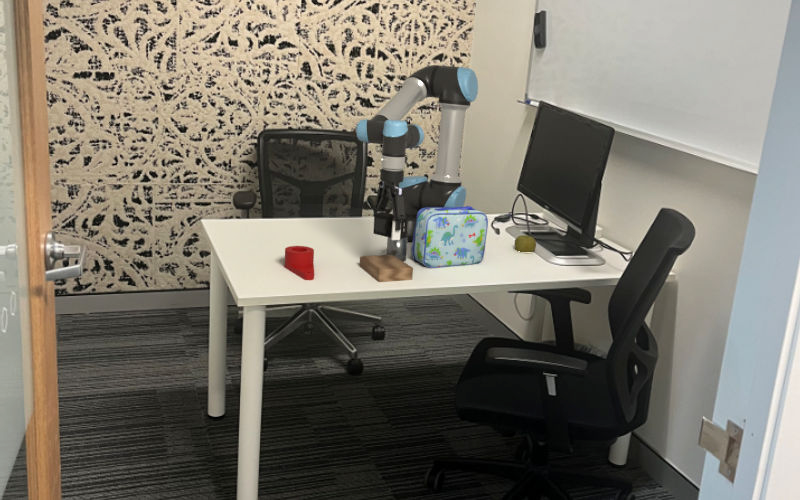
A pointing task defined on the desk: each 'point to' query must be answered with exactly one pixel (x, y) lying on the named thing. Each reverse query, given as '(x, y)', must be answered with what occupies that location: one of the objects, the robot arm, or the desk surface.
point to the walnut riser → (386, 268)
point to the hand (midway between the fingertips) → (387, 235)
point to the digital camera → (387, 225)
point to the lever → (300, 261)
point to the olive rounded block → (525, 243)
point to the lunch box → (449, 236)
